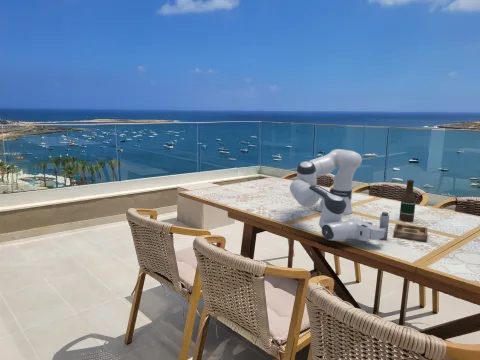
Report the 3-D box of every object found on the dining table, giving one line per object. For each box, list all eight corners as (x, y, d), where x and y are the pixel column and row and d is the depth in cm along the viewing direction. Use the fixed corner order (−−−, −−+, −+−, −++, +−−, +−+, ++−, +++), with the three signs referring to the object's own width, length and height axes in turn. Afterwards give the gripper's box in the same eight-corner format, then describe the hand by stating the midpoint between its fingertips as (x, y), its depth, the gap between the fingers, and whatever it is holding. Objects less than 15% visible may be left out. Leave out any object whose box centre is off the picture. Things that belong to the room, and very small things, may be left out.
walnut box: (393, 237, 182) (393, 230, 181) (395, 229, 195) (395, 223, 194) (426, 242, 175) (427, 235, 175) (426, 233, 189) (427, 227, 188)
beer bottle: (412, 219, 216) (416, 179, 211) (414, 222, 208) (419, 181, 204) (398, 217, 218) (402, 178, 213) (400, 221, 210) (404, 180, 206)
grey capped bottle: (377, 239, 178) (380, 213, 176) (378, 236, 182) (381, 211, 179) (386, 240, 176) (389, 214, 174) (387, 238, 180) (389, 212, 178)
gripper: (340, 229, 181) (363, 226, 186) (368, 242, 162) (392, 239, 167) (341, 216, 180) (364, 214, 185) (370, 229, 161) (394, 226, 166)
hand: (378, 226), depth 176 cm, fingers open, 8 cm apart
